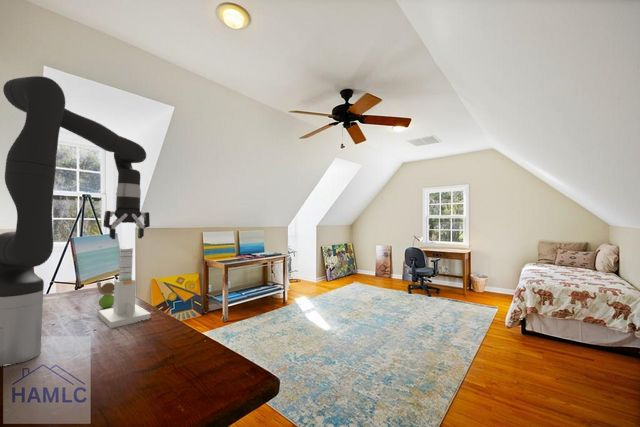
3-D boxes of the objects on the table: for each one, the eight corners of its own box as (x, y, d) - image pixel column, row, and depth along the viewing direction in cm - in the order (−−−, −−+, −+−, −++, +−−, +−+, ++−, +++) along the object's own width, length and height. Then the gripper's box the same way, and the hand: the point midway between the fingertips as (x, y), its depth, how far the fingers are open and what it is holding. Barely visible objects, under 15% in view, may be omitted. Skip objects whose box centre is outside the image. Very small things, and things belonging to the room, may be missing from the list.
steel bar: (131, 293, 102) (132, 248, 103) (120, 295, 100) (122, 248, 100) (128, 291, 104) (130, 247, 105) (118, 293, 102) (119, 248, 102)
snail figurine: (97, 307, 113) (99, 278, 114) (116, 305, 116) (117, 277, 116) (93, 311, 108) (94, 280, 109) (113, 309, 111) (114, 279, 111)
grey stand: (150, 318, 101) (151, 280, 101) (110, 328, 91) (112, 286, 92) (134, 308, 112) (135, 274, 112) (97, 315, 103) (99, 278, 103)
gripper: (108, 194, 95) (106, 240, 95) (153, 197, 106) (151, 238, 106) (102, 195, 100) (101, 239, 100) (146, 198, 111) (144, 237, 111)
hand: (127, 238), depth 103 cm, fingers open, 8 cm apart
